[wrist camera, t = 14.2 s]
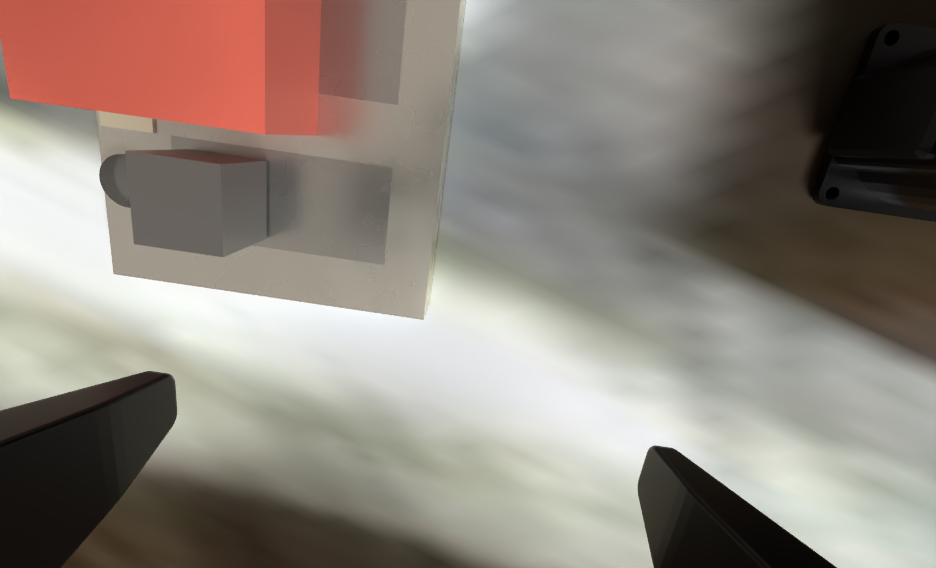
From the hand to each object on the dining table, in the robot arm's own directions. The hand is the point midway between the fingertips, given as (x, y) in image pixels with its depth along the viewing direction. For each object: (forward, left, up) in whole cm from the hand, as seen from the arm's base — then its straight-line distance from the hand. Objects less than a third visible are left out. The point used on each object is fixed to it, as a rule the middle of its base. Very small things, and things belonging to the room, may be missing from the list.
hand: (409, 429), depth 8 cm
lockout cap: (+9, -8, -10) cm, 15 cm away
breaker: (+9, -2, -10) cm, 14 cm away
